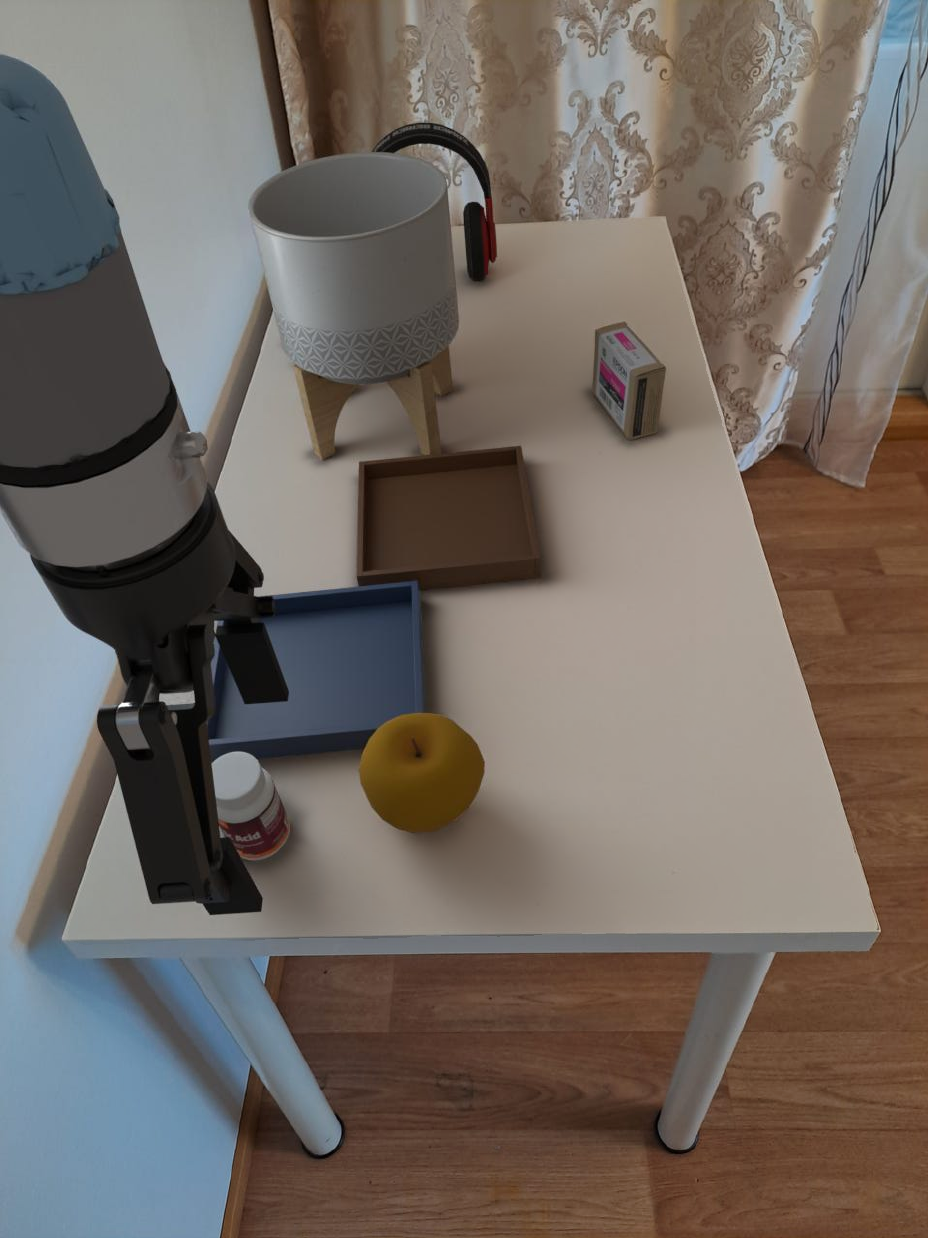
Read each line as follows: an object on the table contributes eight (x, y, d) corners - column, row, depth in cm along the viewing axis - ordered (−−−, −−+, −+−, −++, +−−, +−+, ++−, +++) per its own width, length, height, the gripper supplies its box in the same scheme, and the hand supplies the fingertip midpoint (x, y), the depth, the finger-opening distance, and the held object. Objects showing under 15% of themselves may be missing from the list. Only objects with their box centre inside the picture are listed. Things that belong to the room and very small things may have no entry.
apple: (498, 768, 72) (492, 699, 65) (471, 870, 66) (462, 807, 59) (390, 749, 74) (374, 681, 67) (355, 847, 68) (333, 783, 61)
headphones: (370, 303, 123) (345, 148, 108) (373, 268, 129) (349, 117, 115) (499, 292, 122) (491, 135, 107) (495, 258, 129) (488, 105, 114)
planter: (501, 420, 103) (488, 186, 83) (367, 496, 95) (319, 259, 76) (402, 357, 113) (370, 136, 94) (274, 422, 106) (211, 196, 87)
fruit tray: (206, 764, 74) (197, 746, 72) (228, 618, 85) (220, 599, 83) (427, 743, 74) (423, 724, 72) (420, 599, 85) (417, 580, 83)
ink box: (590, 393, 105) (592, 327, 99) (620, 385, 106) (625, 319, 99) (628, 442, 98) (633, 375, 92) (660, 433, 99) (667, 366, 93)
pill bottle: (219, 854, 68) (185, 796, 62) (247, 800, 71) (217, 740, 65) (275, 869, 67) (247, 811, 61) (301, 814, 70) (277, 754, 64)
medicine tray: (360, 595, 86) (356, 576, 84) (362, 480, 97) (358, 461, 95) (541, 577, 86) (541, 558, 84) (521, 464, 97) (521, 445, 95)
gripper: (147, 773, 27) (297, 1015, 43) (252, 337, 44) (332, 625, 60) (-94, 789, 28) (142, 1024, 43) (101, 350, 44) (221, 634, 60)
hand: (253, 793), depth 52 cm, fingers open, 13 cm apart
